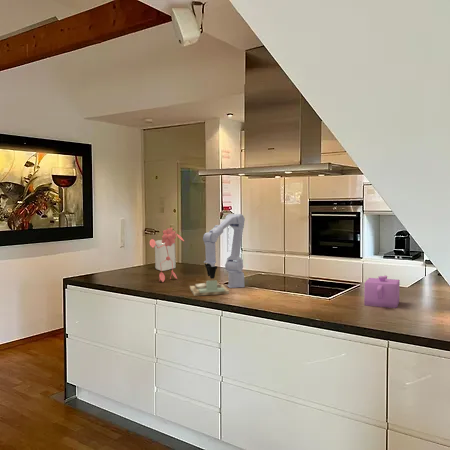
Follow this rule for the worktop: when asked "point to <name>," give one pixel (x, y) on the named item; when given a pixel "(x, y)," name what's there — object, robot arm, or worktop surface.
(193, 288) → the board
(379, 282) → the teapot
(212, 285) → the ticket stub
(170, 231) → the figurine
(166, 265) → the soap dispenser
